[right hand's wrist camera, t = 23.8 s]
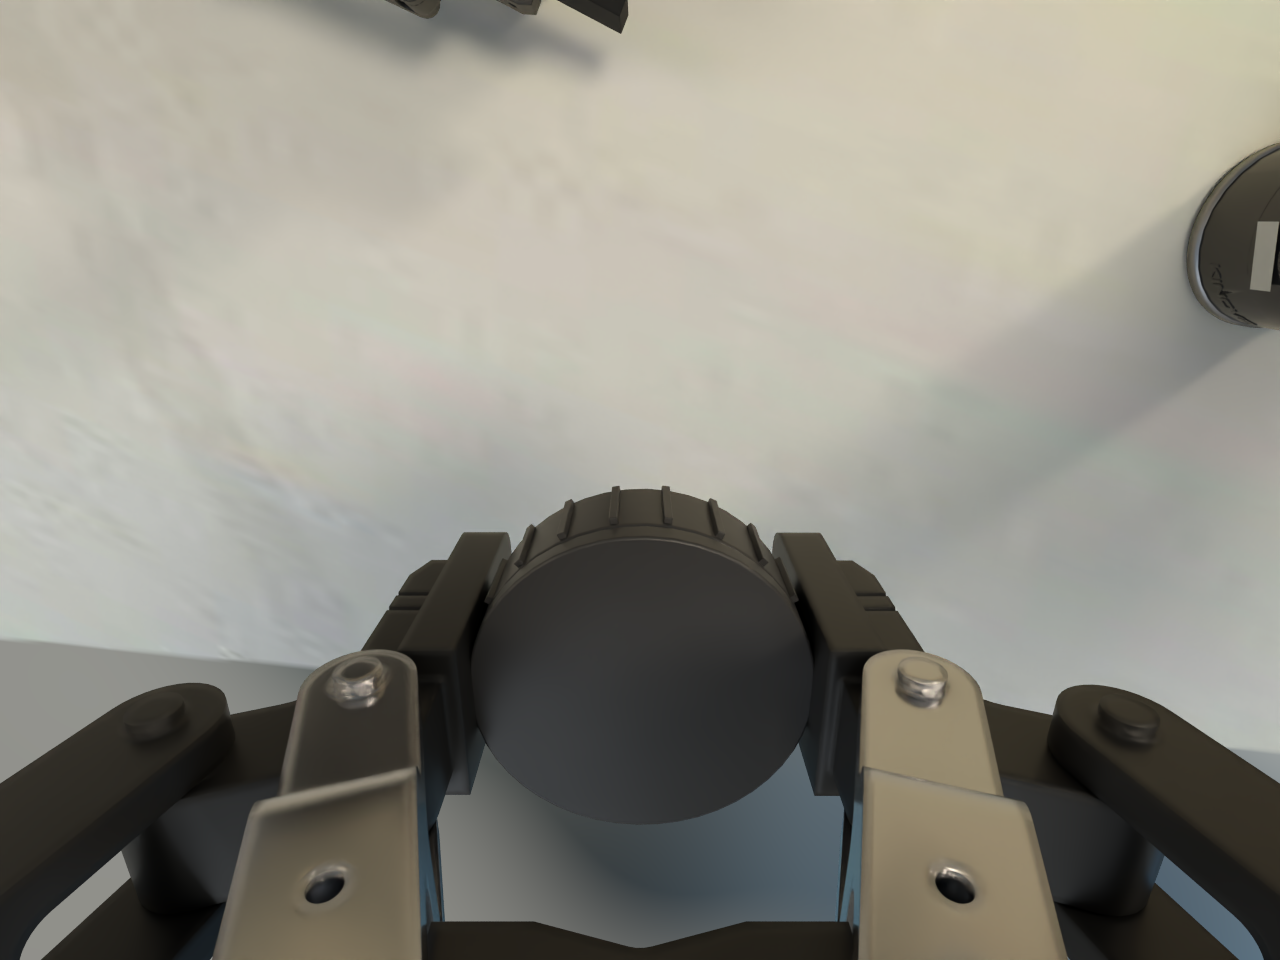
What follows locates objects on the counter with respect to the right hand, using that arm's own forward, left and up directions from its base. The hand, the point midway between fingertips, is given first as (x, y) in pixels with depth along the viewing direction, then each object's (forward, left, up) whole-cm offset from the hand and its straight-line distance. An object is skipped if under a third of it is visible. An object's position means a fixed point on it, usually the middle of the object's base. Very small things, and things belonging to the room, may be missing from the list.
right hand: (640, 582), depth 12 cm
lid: (0, 0, +3) cm, 3 cm away
